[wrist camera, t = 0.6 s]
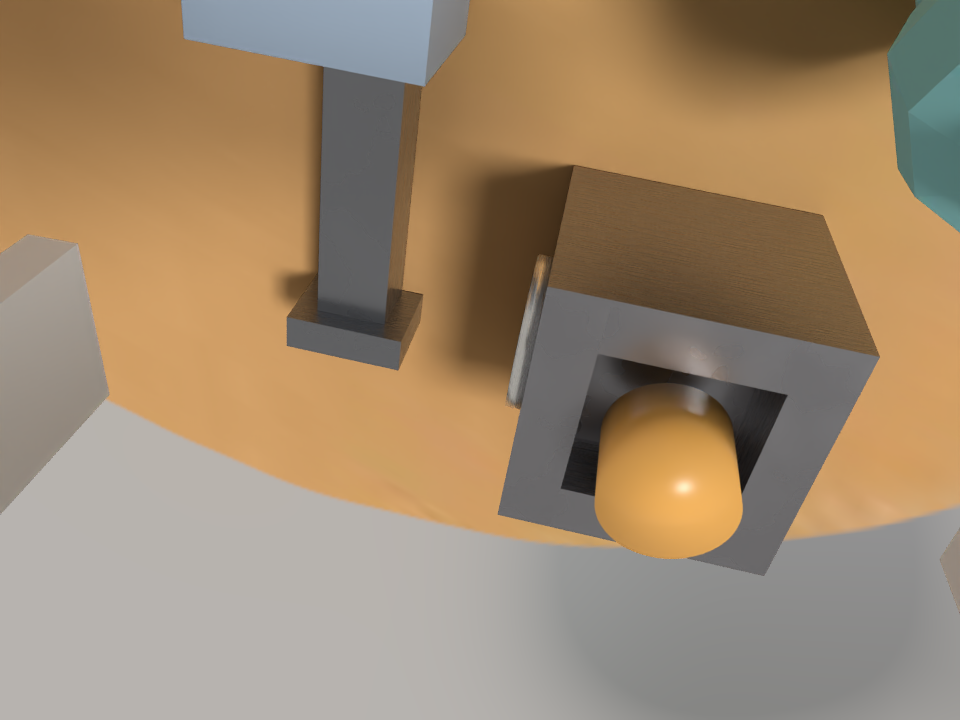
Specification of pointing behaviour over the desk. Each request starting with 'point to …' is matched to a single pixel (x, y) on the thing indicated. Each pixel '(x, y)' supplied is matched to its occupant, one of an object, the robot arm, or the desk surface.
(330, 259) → the rail
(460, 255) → the desk surface
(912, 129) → the alarm clock
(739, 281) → the cabinet
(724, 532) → the button
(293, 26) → the block
